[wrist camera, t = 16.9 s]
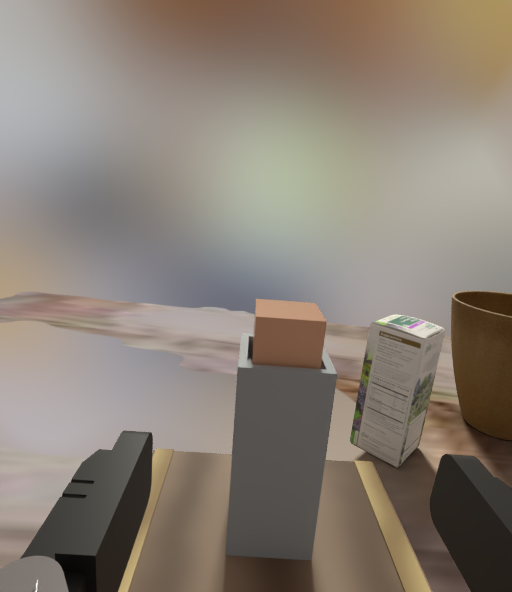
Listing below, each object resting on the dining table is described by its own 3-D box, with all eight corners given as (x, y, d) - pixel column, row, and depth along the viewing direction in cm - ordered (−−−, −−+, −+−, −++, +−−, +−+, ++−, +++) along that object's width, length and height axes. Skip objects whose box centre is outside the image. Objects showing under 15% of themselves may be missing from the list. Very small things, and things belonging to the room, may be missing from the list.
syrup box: (372, 424, 45) (391, 311, 42) (421, 448, 41) (446, 325, 38) (348, 443, 41) (367, 320, 38) (400, 471, 37) (426, 336, 34)
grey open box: (225, 555, 24) (238, 367, 21) (231, 490, 29) (242, 333, 26) (311, 560, 24) (337, 373, 21) (301, 494, 29) (320, 338, 26)
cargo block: (250, 381, 22) (255, 316, 21) (251, 354, 26) (256, 298, 25) (318, 386, 22) (326, 321, 21) (309, 358, 26) (315, 303, 25)
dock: (87, 660, 20) (84, 617, 20) (153, 478, 34) (154, 448, 33) (443, 676, 21) (454, 635, 20) (368, 490, 34) (373, 461, 34)
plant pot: (460, 385, 58) (483, 286, 54) (581, 436, 46) (621, 314, 42) (406, 411, 49) (429, 294, 45) (539, 481, 37) (585, 333, 34)
